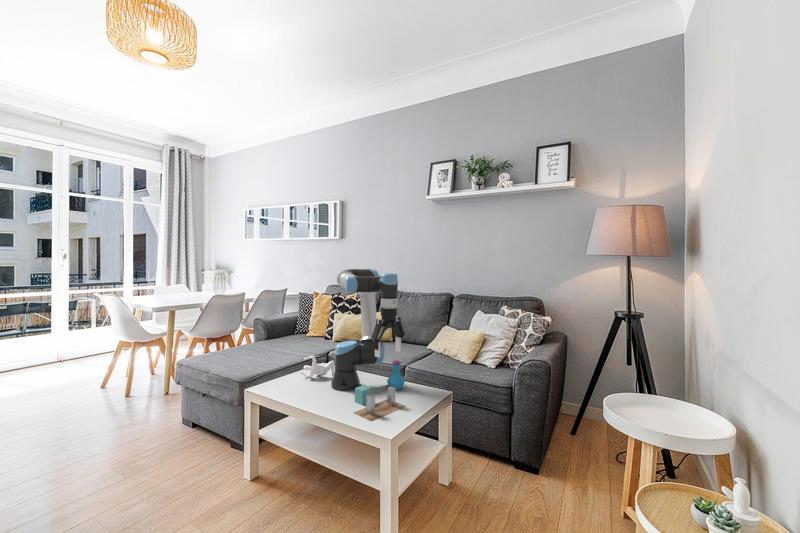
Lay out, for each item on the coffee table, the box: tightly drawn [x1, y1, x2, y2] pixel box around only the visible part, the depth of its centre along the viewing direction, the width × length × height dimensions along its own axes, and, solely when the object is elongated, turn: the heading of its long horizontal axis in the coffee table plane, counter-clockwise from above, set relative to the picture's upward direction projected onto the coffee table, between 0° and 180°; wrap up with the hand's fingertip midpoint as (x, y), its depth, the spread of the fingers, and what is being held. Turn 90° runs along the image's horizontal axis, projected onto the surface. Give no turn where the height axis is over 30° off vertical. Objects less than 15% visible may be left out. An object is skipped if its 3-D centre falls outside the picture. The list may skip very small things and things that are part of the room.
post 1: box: [366, 393, 376, 415], centre depth 159 cm, size 3×3×8 cm
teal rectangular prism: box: [354, 385, 372, 406], centre depth 171 cm, size 5×5×8 cm
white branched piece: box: [300, 355, 335, 379], centre depth 209 cm, size 13×13×18 cm
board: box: [353, 399, 407, 422], centre depth 163 cm, size 12×22×1 cm, turn 138°
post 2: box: [386, 386, 397, 407], centre depth 168 cm, size 3×3×8 cm
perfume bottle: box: [386, 359, 406, 391], centre depth 191 cm, size 9×9×15 cm
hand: (388, 353), depth 166 cm, fingers open, 13 cm apart
